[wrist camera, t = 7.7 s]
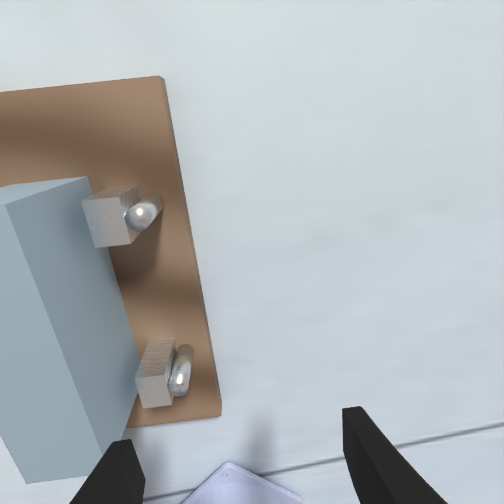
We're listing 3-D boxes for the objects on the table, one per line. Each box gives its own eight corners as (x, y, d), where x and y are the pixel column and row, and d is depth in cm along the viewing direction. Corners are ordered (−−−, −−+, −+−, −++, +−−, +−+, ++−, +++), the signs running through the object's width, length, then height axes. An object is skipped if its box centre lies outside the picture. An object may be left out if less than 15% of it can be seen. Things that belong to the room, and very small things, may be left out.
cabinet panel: (221, 401, 22) (221, 415, 21) (48, 423, 22) (38, 439, 21) (164, 79, 15) (158, 75, 14) (-96, 106, 15) (-123, 104, 14)
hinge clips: (196, 363, 20) (190, 402, 17) (44, 382, 19) (13, 425, 17) (159, 182, 16) (144, 193, 13) (-33, 203, 15) (-92, 220, 13)
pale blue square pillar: (143, 374, 20) (109, 472, 14) (68, 384, 20) (3, 486, 14) (87, 176, 15) (4, 204, 10) (-11, 186, 15) (-152, 221, 10)
